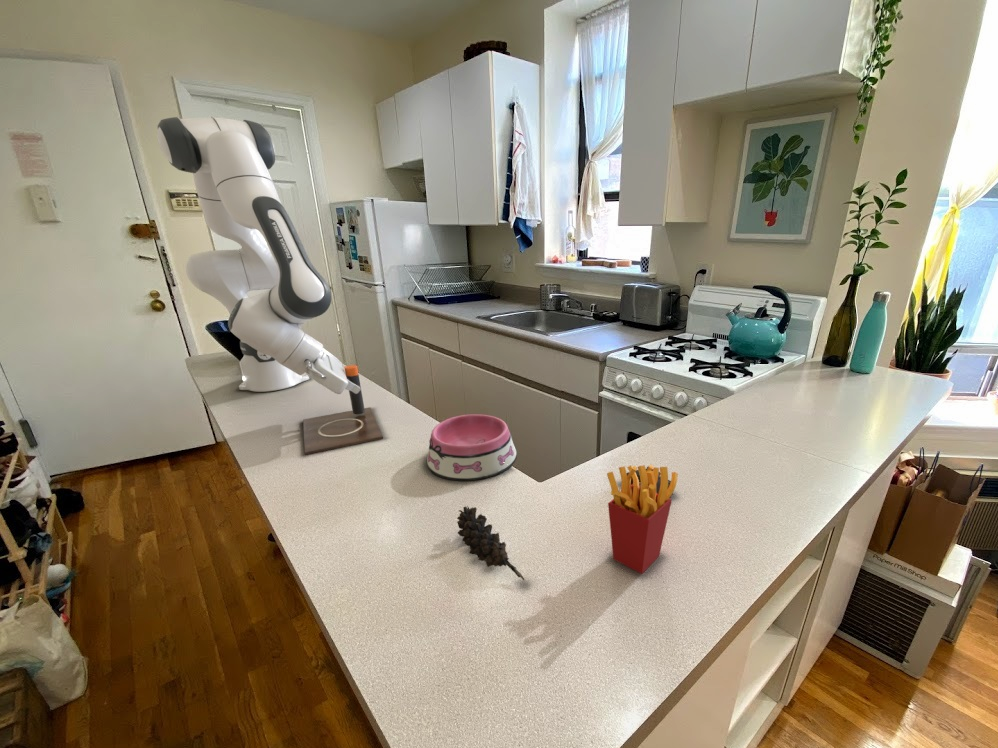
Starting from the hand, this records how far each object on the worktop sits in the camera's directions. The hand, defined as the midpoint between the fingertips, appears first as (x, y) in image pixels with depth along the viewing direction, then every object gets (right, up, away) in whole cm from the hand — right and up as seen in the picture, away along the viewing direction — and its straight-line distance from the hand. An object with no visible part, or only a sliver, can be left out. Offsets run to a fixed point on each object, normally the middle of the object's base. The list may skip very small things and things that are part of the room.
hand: (357, 388), depth 115 cm
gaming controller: (+66, -21, -31) cm, 76 cm away
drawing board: (-2, -10, -4) cm, 11 cm away
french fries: (+61, -27, -46) cm, 81 cm away
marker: (-1, -6, +2) cm, 6 cm away
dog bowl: (+32, -16, -18) cm, 40 cm away
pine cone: (+40, -28, -45) cm, 66 cm away
